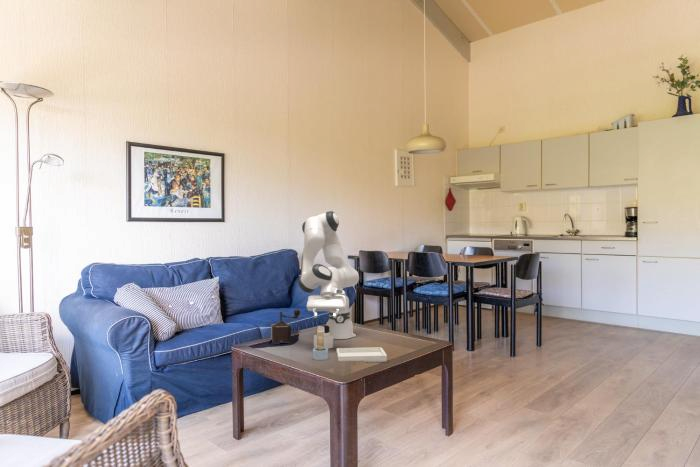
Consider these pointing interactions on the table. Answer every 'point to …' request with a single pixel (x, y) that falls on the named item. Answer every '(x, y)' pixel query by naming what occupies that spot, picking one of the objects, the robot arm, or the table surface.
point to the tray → (362, 354)
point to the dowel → (320, 341)
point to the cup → (320, 354)
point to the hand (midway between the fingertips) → (324, 317)
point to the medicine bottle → (327, 338)
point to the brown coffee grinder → (282, 329)
